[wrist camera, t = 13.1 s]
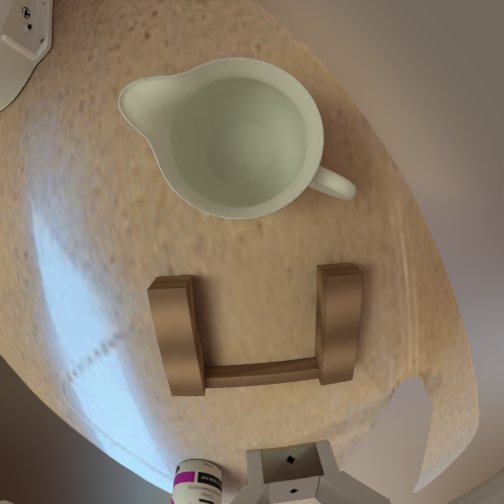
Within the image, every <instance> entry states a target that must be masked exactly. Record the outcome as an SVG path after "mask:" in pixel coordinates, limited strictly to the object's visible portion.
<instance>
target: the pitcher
mask: <svg viewBox="0 0 504 504" xmlns="http://www.w3.org/2000/svg"><path fill="white" fill-rule="evenodd" d="M118 106H119V110H120V112H121V113H122V115H123V117H124V118H125V119H126V120H127V121H128V122H129V123H130V125H131V126H132V127H133V128H135V129H136V130H137V131H138V132H139V133H140V134H142V135H143V136H144V137H145V138H146V140H147V141H148V143H149V144H150V146H151V148H152V150H153V153H154V155H155V158H156V161H157V163H158V166H159V168H160V170H161V172H162V174H163V176H164V178H165V180H166V181H167V182H168V184H169V185H170V187H171V188H172V189H173V190H174V191H175V192H176V193H177V194H178V195H179V196H180V197H181V198H182V199H183V200H184V201H186V202H187V203H188V204H190V205H192V206H193V207H195V208H196V209H198V210H200V211H203V212H205V213H207V214H210V215H213V216H216V217H221V218H227V219H252V218H257V217H262V216H265V215H268V214H271V213H274V212H276V211H278V210H280V209H282V208H284V207H285V206H287V205H288V204H290V203H291V202H293V201H294V200H295V199H296V198H297V197H298V196H299V195H301V193H302V192H303V191H304V190H305V189H306V188H307V187H310V188H313V189H315V190H318V191H320V192H323V193H325V194H328V195H330V196H333V197H337V198H340V199H345V200H351V199H353V198H354V196H355V193H356V186H355V185H354V184H353V183H352V182H350V181H349V180H347V179H346V178H344V177H342V176H341V175H339V174H337V173H335V172H333V171H330V170H328V169H326V168H323V167H321V166H319V165H320V162H321V159H322V154H323V149H324V128H323V123H322V118H321V115H320V112H319V109H318V107H317V105H316V103H315V101H314V99H313V97H312V96H311V95H310V93H309V92H308V90H307V89H306V88H305V87H304V86H303V85H302V84H301V82H300V81H298V80H297V79H296V78H295V77H294V76H292V75H291V74H290V73H288V72H287V71H285V70H283V69H282V68H280V67H278V66H275V65H273V64H271V63H268V62H265V61H262V60H257V59H252V58H242V57H235V58H224V59H218V60H214V61H211V62H208V63H205V64H203V65H200V66H198V67H195V68H193V69H191V70H188V71H185V72H182V73H179V74H175V75H163V76H153V77H147V78H142V79H139V80H136V81H133V82H131V83H130V84H128V85H127V86H126V87H124V89H123V90H122V92H121V93H120V96H119V99H118Z"/></svg>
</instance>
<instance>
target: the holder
mask: <svg viewBox="0 0 504 504" xmlns="http://www.w3.org/2000/svg"><path fill="white" fill-rule="evenodd" d="M363 276H364V273H363V272H361V271H360V270H359V269H358V268H356V267H355V266H354V265H352V264H351V263H340V264H329V265H317V310H316V339H315V357H313V358H306V359H298V360H289V361H280V362H270V363H259V364H246V365H230V366H209V367H205V363H204V357H203V351H202V345H201V339H200V333H199V327H198V320H197V313H196V306H195V299H194V292H193V285H192V277H191V275H181V276H165V277H156V279H155V280H154V281H153V283H152V284H151V285H150V287H149V288H148V289H147V292H148V297H149V302H150V307H151V312H152V317H153V322H154V326H155V331H156V335H157V340H158V344H159V348H160V352H161V356H162V360H163V364H164V368H165V372H166V376H167V380H168V383H169V387H170V390H171V394H172V396H205V388H224V387H242V386H256V385H267V384H277V383H286V382H295V381H302V380H310V379H317V378H319V381H320V383H321V385H327V384H333V383H339V382H344V381H350V380H352V378H353V372H354V365H355V358H356V351H357V343H358V334H359V325H360V315H361V304H362V292H363Z"/></svg>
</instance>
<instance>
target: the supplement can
mask: <svg viewBox="0 0 504 504" xmlns="http://www.w3.org/2000/svg"><path fill="white" fill-rule="evenodd" d="M171 504H222V472H221V470H220V469H219V468H218V467H217V466H215V465H214V464H212V463H210V462H207V461H203V460H188V461H184V462H182V463H181V464H179V465H178V466H177V468H176V472H175V479H174V485H173V492H172V499H171Z"/></svg>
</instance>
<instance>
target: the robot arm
mask: <svg viewBox="0 0 504 504" xmlns="http://www.w3.org/2000/svg"><path fill="white" fill-rule="evenodd" d="M52 10H53V0H0V111H1V110H3V109H4V108H5V107H7V106H8V105H9V104H10V103H11V102H12V101H13V100H14V99H15V97H16V96H17V95H18V94H19V92H20V91H21V90H22V88H23V87H24V85H25V83H26V82H27V80H28V78H29V76H30V75H31V73H32V71H33V69H34V68H35V66H36V65H37V64H38V63H39V62H40V60H41V59H42V58H43V57H44V56H45V55H46V54H47V53H48V51H49V50H50V48H51V46H52ZM246 462H247V478H248V485H244V486H243V487H242V489H241V490H240V491H239V493H238V494H237V495H236V497H235V498H234V499H233V500H232V502H231V503H230V504H273V503H281V502H288V501H294V500H302V499H309V498H315V497H316V499H317V500H318V501H319V502H320V503H321V504H391V503H390V500H389V499H388V498H386V497H385V496H383V495H381V494H379V493H378V492H376V491H374V490H373V489H371V488H369V487H368V486H366V485H364V484H363V483H361V482H360V481H358V480H356V479H355V478H353V477H352V476H350V475H349V474H347V473H346V472H344V471H341V472H340V471H339V468H338V465H337V462H336V460H335V457H334V454H333V451H332V448H331V445H330V442H329V441H328V440H322V441H317V442H309V443H304V444H298V445H291V446H287V447H278V448H267V449H261V451H260V449H253V450H246ZM0 504H12V503H11V502H8V501H0ZM446 504H504V467H503V468H502V469H500V470H499V471H498V472H496V473H495V474H493V475H492V476H491V477H489V478H488V479H486V480H485V481H483V482H482V483H480V484H479V485H477V486H475V487H474V488H472V489H471V490H469V491H467V492H466V493H464V494H462V495H461V496H459V497H457V498H456V499H454V500H452V501H450V502H448V503H446Z"/></svg>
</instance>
